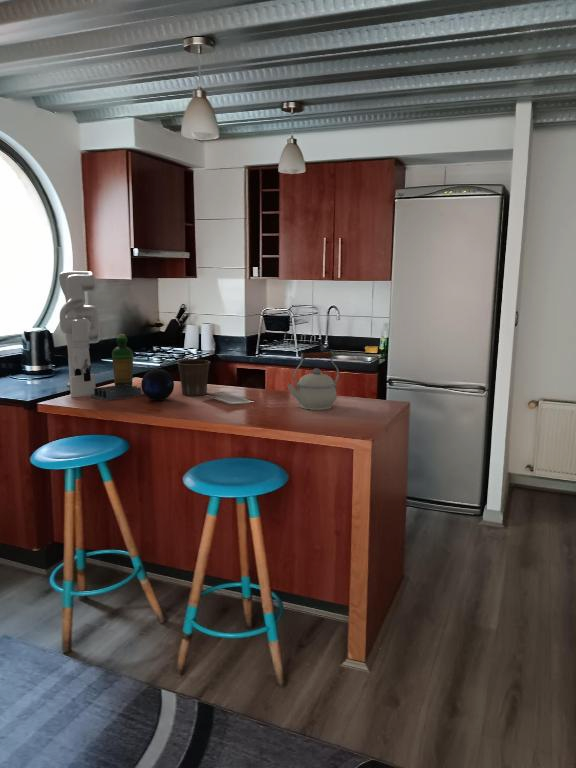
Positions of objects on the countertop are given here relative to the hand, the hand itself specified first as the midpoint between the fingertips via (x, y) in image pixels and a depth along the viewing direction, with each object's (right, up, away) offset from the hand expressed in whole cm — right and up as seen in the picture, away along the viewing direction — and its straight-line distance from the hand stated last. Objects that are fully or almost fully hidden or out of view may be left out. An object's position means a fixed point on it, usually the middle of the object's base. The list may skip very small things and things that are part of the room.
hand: (82, 380), depth 303 cm
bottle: (+14, -4, +21) cm, 26 cm away
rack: (+17, -8, +2) cm, 18 cm away
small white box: (0, -8, +2) cm, 8 cm away
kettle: (+111, -13, -20) cm, 113 cm away
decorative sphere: (+38, -10, -8) cm, 40 cm away
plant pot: (+53, -7, +8) cm, 54 cm away
